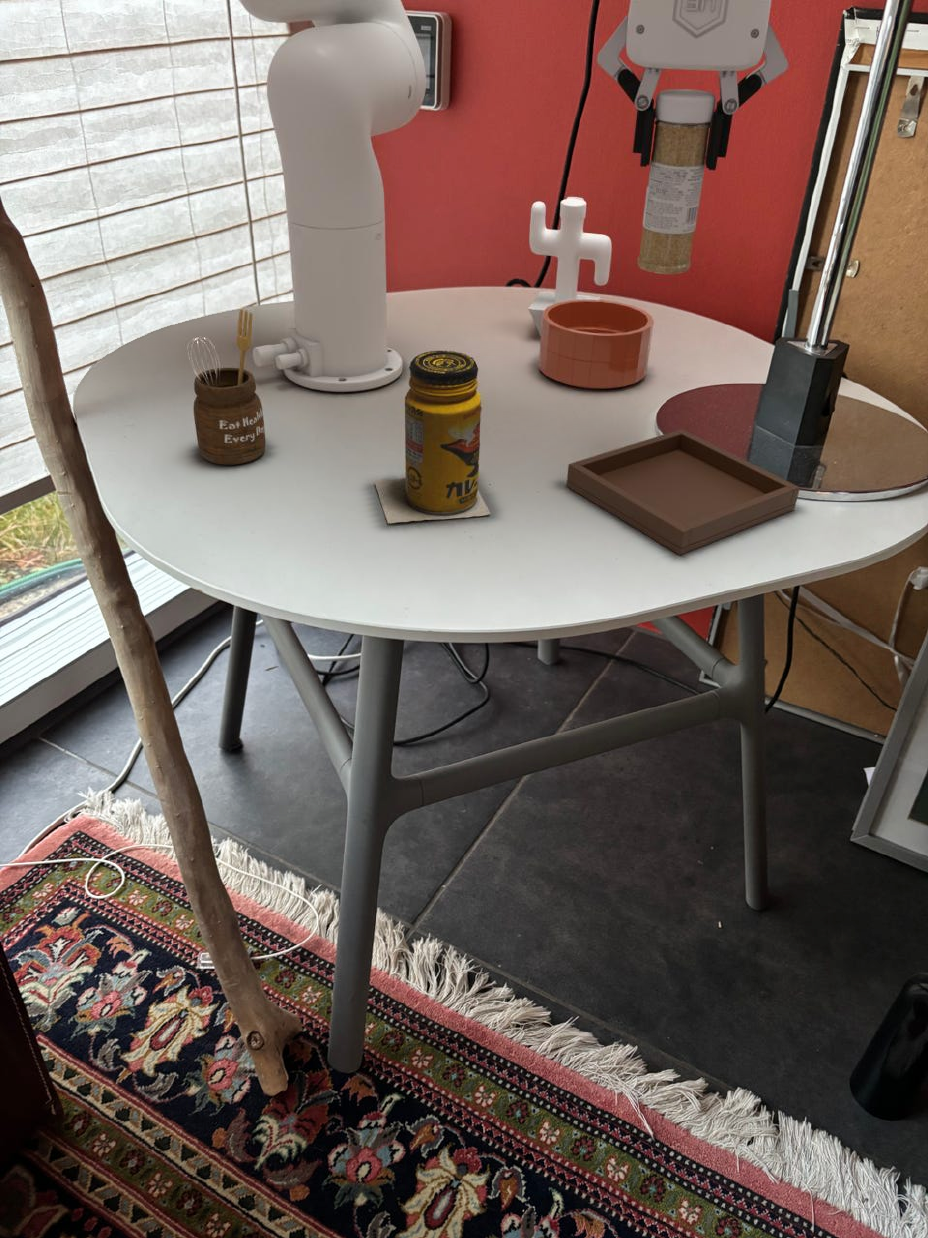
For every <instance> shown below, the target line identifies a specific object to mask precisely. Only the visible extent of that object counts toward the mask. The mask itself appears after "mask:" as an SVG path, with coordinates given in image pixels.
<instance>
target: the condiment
mask: <svg viewBox="0 0 928 1238" xmlns="http://www.w3.org/2000/svg"><path fill="white" fill-rule="evenodd" d="M408 368H409V378H408V379H409V380H408V386H409V389H408V390H407V392H406V394H405V396H404V430H405V432H404V439H405V440H404V448H405V449H404V450H405V451H404V453H405V456H404V458H405V467H404V468H405V478H404V477H403V478H381V479H374V480H373V481H374V484H375V488H376V490H377V494H378V498H379V501H380V504H381V508H382V509H383V513H384V517H385V518H386V522H387V524H396V523H407V522H413V521H414V522H420V521H425V520H428V521H431V520H451V519H462V518H473V517H482V516H489V515H491V514H492V513H491V512H490V510H489V508H488V506H487V503H486V502H485V500H484V499H483V497H482V495H481V493H480V491H479V473H480V452H481V451H480V449H481V447H480V446H481V420H482V419H481V416H482V415H481V414H482V410H483V407H482V398H481V397H482V396H481V394H480V392H479V391H478V390H477V389H478V386H479V382H478V374H479V373H478V372H479V367H478V364H477V362H476V360H475V359H474V357H472V356H469V355H468V354H466V353H462V352H459V351H454V350H431V351H425V352H422V353H420V354H418V355H417V356H416V355H415V357H413V359H412V360H411V361H410V363H409V367H408Z"/></svg>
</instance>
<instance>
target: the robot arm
mask: <svg viewBox="0 0 928 1238" xmlns="http://www.w3.org/2000/svg"><path fill="white" fill-rule="evenodd" d="M238 1H239V2H240V4H241V5H242V7H243V8H244V9H245V11H246V12H248V13H249V15H251V16H253V17H254V18H255V19H257V20H261V21H264V22H267V23H278V24H282V23H283V24H286V23H287V24H288V23H301V22H312V24H313V26H314V27H310V28H309V27H308V28H305V29H303V30H301V31H298V32H297V33H294V34H293V35H291V36H289V37H288V38H287V39H286V40H284V41H283V42H282V44H280V45H279V47H278V48H277V50H276V51H275V53H273V54H274V55H273V56H272V59H271V62H269V63H270V64H269V67H268V71H267V76H266V78H267V79H266V97H267V104H268V108H269V114H270V118H271V122H272V126H273V129H274V134H275V137H276V142H277V146H278V150H279V156H280V163H281V168H282V176H283V185H284V197H285V208H286V218H287V230H288V232H287V233H288V245H289V258H290V273H291V285H292V299H293V311H294V324H295V325H294V326H295V327H292V328H287V329H286V338H282V339H281V340H280V341H279V343H276V344H266V345H260V346H256V347H253V349H252V358H253V361H254V364H255V365H256V366H257V367H264V366H268V365H273V364H275V365H276V367H277V369H278V370H283V372H284V375H285V376H286V377H287V378H288V380H289V381H291V382H293V383H294V384H295V385H296V384H297V385H299V386H302V387H304V388H306V389H311V390H317V391H323V392H333V393H334V392H335V393H339V392H340V393H346V392H347V393H349V392H350V393H351V392H360V391H367V390H371V389H377V388H379V387H383V386H385V385H388V384H390V383H392V382H394V381H395V380H396V379H398V378H399V377H400V376H401V374H402V373H403V368H404V367H403V358H402V356H401V354H399V352H397V351H395V350H394V349H392V348H390V347H389V346H388V306H387V305H388V302H387V297H388V296H387V256H386V255H387V253H386V251H387V250H386V249H387V247H386V212H385V209H386V208H385V205H386V204H385V191H384V184H383V178H382V173H381V169H380V167H379V163H378V159H377V157H376V154H375V151H374V147H373V142H372V137H376V136H379V135H383V134H387V133H390V132H392V131H395V130H399V129H400V128H403V127H404V126H405V125H408V123H410V122H411V121H412V120H413V119H414V118H415V117H416V116H417V114H418V113H419V112H420V110H421V107H422V105H423V102H424V100H425V97H426V89H427V71H426V66H425V61H424V57H423V53H422V50H421V48H420V44H419V42H418V39H417V37H416V34H415V31H414V29H413V26H412V24H411V22H410V19H409V17H408V14H407V11H406V10H405V7H404V5H403V1H402V0H238ZM771 8H772V0H630V1H629V9H628V13H627V15H626V16H625V18H624V19H623V20H622V22H621V23H620V24H619V26H618V27H617V28H616V29H615V31H614V32H613V34H612V35H611V36H610V38H609V39H608V40H607V41H606V42H605V44H604V45H603V47H602V48H601V49H600V51H599V52H598V53H597V55H596V62H597V64H598V66H599V67H600V68H602V69H603V70H604V71H605V72H606V73H607V74H608V75H609V76H610V77H611V78H612V79H613V80H614V81H615V82H616V83H618V85H619V87H620V88H621V89H622V90H623V92H624V93H625V94H626V96H627V97H628V99H630V101H631V102H632V103H633V105H634V107H635V109H636V110H637V111H636V119H635V126H634V127H635V128H634V137H633V146H632V154H640V160H639V166H640V167H643V168H647V167H648V166H650V164H651V156H652V148H653V140H654V132H655V121H656V118H655V114H656V113H655V107H654V106H655V99H654V98H653V97H654V94H655V92H656V89H657V86H658V83H659V80H660V77H661V74H662V71H663V69H664V70H665V69H666V70H667V69H668V70H669V69H670V70H686V71H687V70H689V71H692V70H693V71H695V70H696V71H712V72H713V71H714V72H715V71H717V76H718V89H719V100H717V102H716V105H715V109H714V115H713V120H712V121H711V122H710V123H711V126H710V128H709V134H708V140H707V148H706V155H705V168H706V169H708V171H716V170H717V165H718V160H719V159H718V158H723V159H725V158H726V157H727V154H728V153H727V152H728V146H729V140H730V134H731V127H732V121H733V117H734V114H736V113H737V112H738V109H739V108H741V107H742V106H743V105H744V104H745V103H746V102H747V101H748V100H749V99H751V98H752V97H753V96H754V95H755V94H756V93H757V92H758V91H760V89H761V88H763V87H764V86H766V85H768V84H769V83H771V82H773V81H774V80H775V79H776V78H778V77H779V76H781V75H783V74H784V73H785V72H786V71H787V70H788V68H789V61H788V59H787V56H786V55H785V53H784V50H783V48H782V47H781V46H782V45H781V44H780V42H779V39H778V38H777V35H776V33H775V31H774V29H773V27H772V25H771V23H770V21H769V20H770V13H771ZM623 49H625V50H626V55H627V58H628V59H629V60H630V61H631V62H632V63H634V64H635V65H637V66H640V67H643V72H642V74H641V76H640V77H641V78H640V79H639V77H637V75H636V74H635V72H634V71H633V70H632V69H631V67H629V66H628V65H627V64H625V62H624V61H623V60H622V59H621V57H620V54H621V52H622V51H623ZM762 57H764V60H763V62H762V64H761V65H759V66H758V67H757V68H756V69H755V70H753V71H752V72H750V73H747V74H746V75H745V76H744V77H743V78H742V79H741V80H740V81H739V82H738V72H740V71H746V70H748V69H751V68H754V67H755V66H756V65H758V64H759V63H760V62H761V59H762Z"/></svg>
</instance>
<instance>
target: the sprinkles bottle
mask: <svg viewBox="0 0 928 1238" xmlns="http://www.w3.org/2000/svg"><path fill="white" fill-rule="evenodd" d="M655 100H656V101H655V105H654V106H655V107H654V109H655V113H656V114H655V122H654V132H653V141H652V149H651V156H650V164H649V172H648V173H649V174H648V182H647V187H646V190H645V191H646V192H645V201H644V207H643V208H644V210H643V217H642V233H641V238H640V239H641V240H640V242H641V243H640V249H639V250H640V251H639V256H638V257H637V265H638V267H639V268H640V269H641V270H644V271H647V272H650V273H653V274H660V275H676V274H677V275H678V274H682V273H683V274H684V273H685V272H687V271H689V269H690V267H691V255H692V247H693V238H694V233H695V231H696V227H697V221H698V214H699V206H700V201H701V194H702V186H703V181H704V174H705V168H706V164H705V157H706V151H707V144H708V137H709V131H710V126H711V121H712V120H713V115H714V111H715V109H716V100H717V99H716V95H715V94H714V93H713V92H710V91H706V90H700V89H691V88H690V89H689V88H684V89H683V88H676V89H672V88H671V89H664V90H661V91H659V92H657V94H656V99H655Z"/></svg>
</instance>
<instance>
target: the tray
mask: <svg viewBox="0 0 928 1238" xmlns="http://www.w3.org/2000/svg"><path fill="white" fill-rule="evenodd" d="M566 487H568V488H569V489H570V490H573V491H574V492H576V493H577V494H579V495H580V496H582V497H584V498H585V499H587V500H589V501H590V502H592V503H593V504H595V505H597V506H598V507H600V508H601V509H603V510H605V511H606V512H608V513H610V514H612V515H613V516H615V517H617V518H618V519H620V520H621V521H623V522H624V523H626V524H628V525H629V526H631V527H633V528H634V529H636V530H638V531H639V532H641V533H642V534H644V535H646V536H647V537H649V538H650V539H653V540H654V541H655V542H657V543H659V544H660V545H661V546H664V547H665V548H667V549H669V550H670V551H672V552H673V553H675V554H677V555H678V556H681V555H684V554H687V553H689V552H692V551H693V550H697V549H699V548H701V547H704V546H707V545H709V544H711V543H714V542H716V541H718V540H721V539H725V538H727V537H728V536H732V535H734V534H737V533H739V532H742V531H744V530H747V529H749V528H752V527H754V526H757V525H759V524H761V523H764V522H766V521H769V520H772V519H774V518H776V517H779V516H782V515H785V514H787V513H789V512H792V511H794V510H795V509H796V506H797V500H798V498H799V493H800V490H801V487H800V486H798V485H796V484H794V483H792V482H790V481H788V480H786V479H784V478H781V477H780V476H777V475H776V474H774V473H772V472H770V471H768V470H765V469H764V468H762V467H760V466H758V465H756V464H753V463H751V462H749V461H747V460H746V459H743V458H741V457H740V456H737V455H736V454H733V453H732V452H729V451H728V450H725V449H723V448H721V447H719V446H717V445H715V444H713V443H711V442H709V441H707V440H706V439H703V438H701V437H699V436H697V435H695V434H692V433H690V432H688V431H687V430H685V429H683V428H680V429H677V430H674V431H670V432H667V433H664V434H661V435H658V436H655V437H651V438H648V439H645V440H641V441H638V442H635V443H632V444H628V445H625V446H623V447H619V448H615V449H613V450H609V451H607V452H606V451H605V452H602V453H600V454H596V455H593V456H591V457H587V458H584V459H581V460H578V461H575V462H572V463H569V464H568V466H567V477H566Z"/></svg>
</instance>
